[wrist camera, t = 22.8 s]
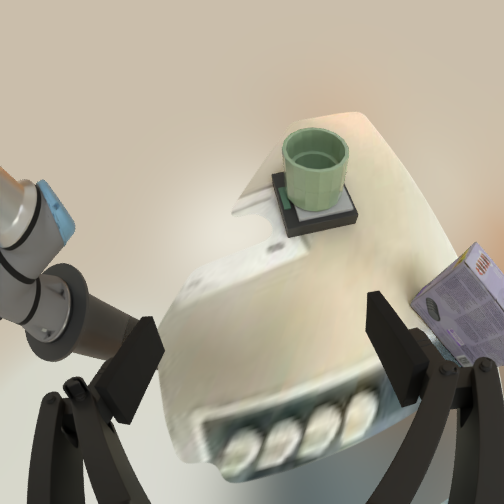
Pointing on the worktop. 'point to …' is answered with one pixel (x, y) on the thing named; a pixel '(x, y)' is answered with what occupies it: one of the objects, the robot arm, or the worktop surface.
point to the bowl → (314, 168)
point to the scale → (312, 212)
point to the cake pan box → (466, 307)
